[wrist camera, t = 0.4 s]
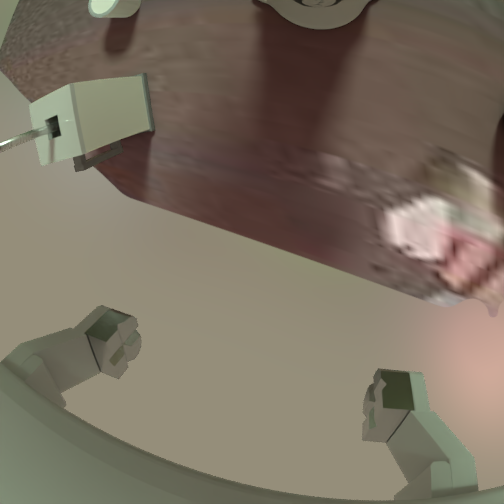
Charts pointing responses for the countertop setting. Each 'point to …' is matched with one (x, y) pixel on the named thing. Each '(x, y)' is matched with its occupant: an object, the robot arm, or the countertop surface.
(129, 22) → the countertop surface
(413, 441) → the robot arm
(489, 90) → the countertop surface
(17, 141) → the plunger
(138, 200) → the countertop surface
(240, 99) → the countertop surface
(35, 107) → the block
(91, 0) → the shot glass
